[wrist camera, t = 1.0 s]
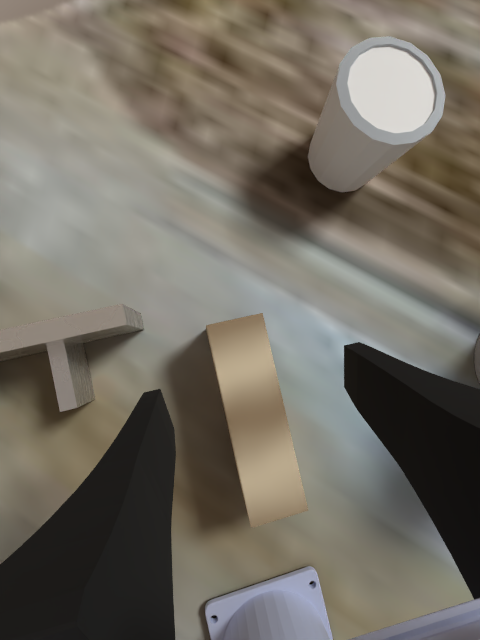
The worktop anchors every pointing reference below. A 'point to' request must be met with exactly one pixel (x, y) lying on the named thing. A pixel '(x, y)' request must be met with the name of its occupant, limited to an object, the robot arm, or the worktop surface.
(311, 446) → the worktop surface
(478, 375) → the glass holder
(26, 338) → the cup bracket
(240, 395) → the maple rail
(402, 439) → the robot arm
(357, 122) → the shot glass
